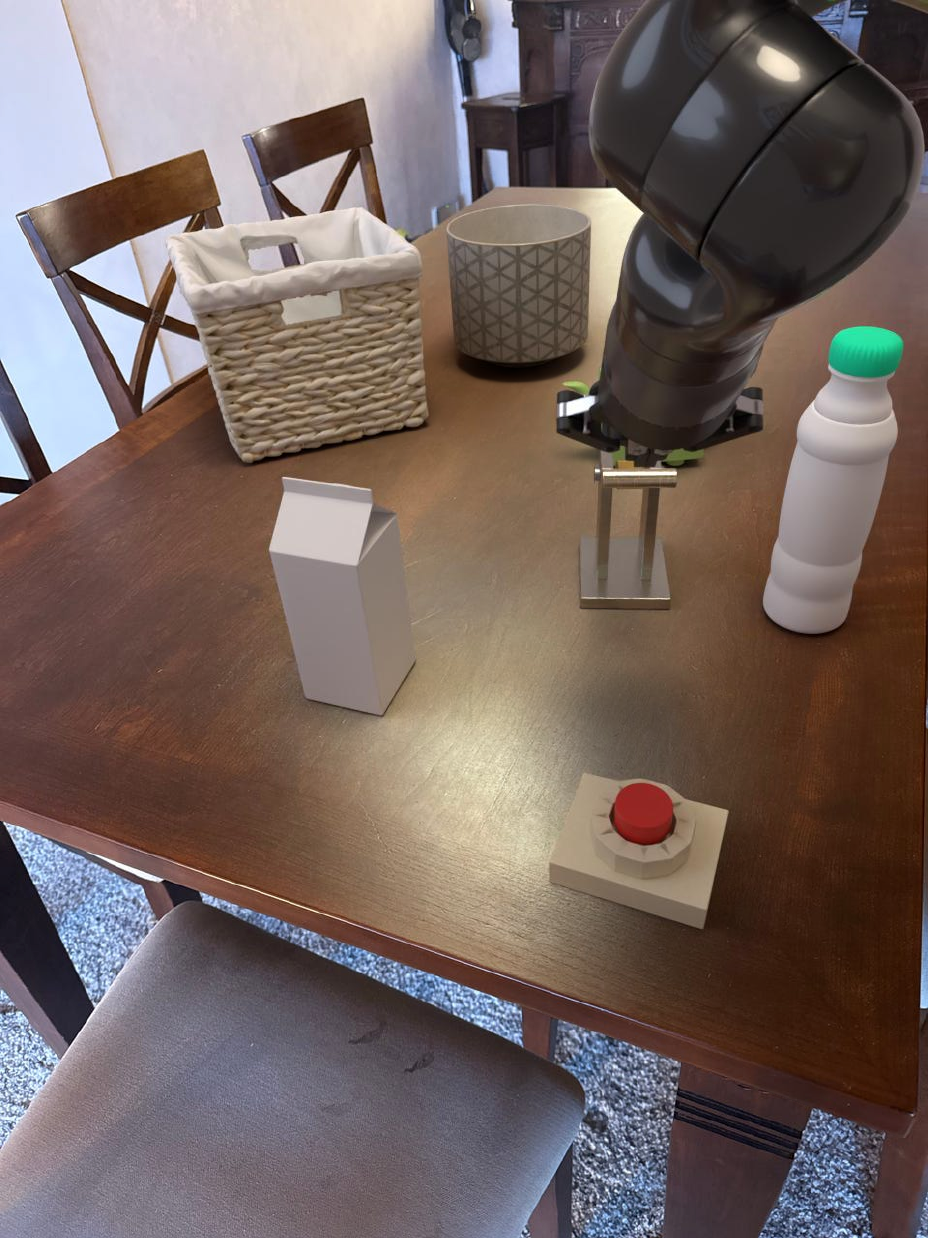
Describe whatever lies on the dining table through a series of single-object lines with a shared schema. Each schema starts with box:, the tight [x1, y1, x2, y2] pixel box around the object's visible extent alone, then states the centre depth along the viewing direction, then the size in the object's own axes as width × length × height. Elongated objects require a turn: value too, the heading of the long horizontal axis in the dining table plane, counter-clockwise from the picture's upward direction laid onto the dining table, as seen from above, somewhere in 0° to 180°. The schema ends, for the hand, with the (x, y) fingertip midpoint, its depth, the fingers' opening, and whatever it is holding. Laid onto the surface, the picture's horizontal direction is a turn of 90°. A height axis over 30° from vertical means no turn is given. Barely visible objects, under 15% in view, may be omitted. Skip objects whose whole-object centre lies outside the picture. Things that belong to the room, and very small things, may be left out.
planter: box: [445, 203, 592, 369], centre depth 119 cm, size 19×19×18 cm
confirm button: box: [614, 783, 673, 845], centre depth 55 cm, size 4×4×2 cm
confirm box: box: [548, 772, 730, 930], centre depth 57 cm, size 10×8×4 cm
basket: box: [164, 206, 430, 464], centre depth 109 cm, size 27×27×22 cm
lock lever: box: [602, 460, 678, 490], centre depth 71 cm, size 12×6×2 cm, turn 175°
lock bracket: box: [578, 450, 672, 610], centre depth 78 cm, size 10×8×13 cm
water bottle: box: [762, 325, 904, 635], centre depth 69 cm, size 7×7×25 cm
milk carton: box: [268, 476, 417, 716], centre depth 67 cm, size 7×7×19 cm
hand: (643, 453), depth 61 cm, fingers closed
